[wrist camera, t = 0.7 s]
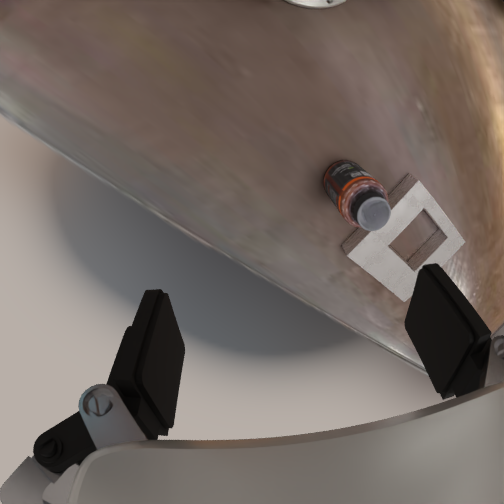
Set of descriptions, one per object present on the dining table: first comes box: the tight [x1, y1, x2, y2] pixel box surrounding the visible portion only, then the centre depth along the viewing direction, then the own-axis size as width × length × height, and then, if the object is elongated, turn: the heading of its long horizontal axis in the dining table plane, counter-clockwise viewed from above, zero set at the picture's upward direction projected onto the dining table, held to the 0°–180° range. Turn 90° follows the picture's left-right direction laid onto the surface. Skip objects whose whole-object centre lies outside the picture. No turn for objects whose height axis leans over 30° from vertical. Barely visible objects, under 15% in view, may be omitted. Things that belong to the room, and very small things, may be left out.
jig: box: [342, 174, 465, 302], centre depth 43 cm, size 15×16×3 cm
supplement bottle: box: [324, 161, 391, 231], centre depth 35 cm, size 6×6×11 cm
